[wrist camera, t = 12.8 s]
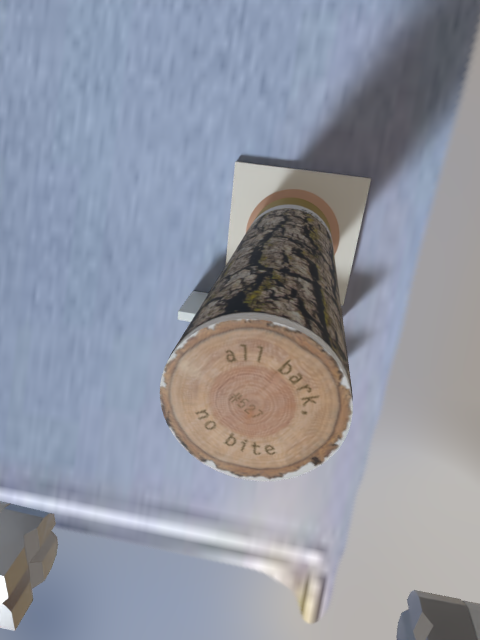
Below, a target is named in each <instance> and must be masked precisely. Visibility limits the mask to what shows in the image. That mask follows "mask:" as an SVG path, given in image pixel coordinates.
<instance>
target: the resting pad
mask: <svg viewBox="0 0 480 640" xmlns="http://www.w3.org/2000/svg"><path fill="white" fill-rule="evenodd" d="M370 182H371V178H365V177H357V176H349V175H341V174H333V173H325V172H317V171H310V170H302V169H294V168H286V167H278V166H270V165H262V164H254V163H246V162H238V161H236V162H235V171H234V181H233V192H232V203H231V214H230V224H229V235H228V246H227V256H226V265H227V263H228V261H229V260H230V258H231V257H232V255H233V253H234V252H235V250H236V249H237V247H238V245H239V244H240V242H241V240H242V239H243V237H244V236H245V234H246V232H247V231H248V229H249V228H250V227H251V224H252V223H253V222H254V220H255V219H256V217H257V215H258V214H259V213H260V211H261V210H262V209H263V208H265V207H266V206H267V205H269V204H270V203H272V202H274V201H276V200H279V199H283V198H300V199H304V200H306V201H309V202H311V203H312V204H314V205H315V206H317V207H318V208H319V209H320V210H321V211H322V212H323V214H324V215H325V217H326V218H327V220H328V222H329V225H330V229H331V236H332V241H333V243H332V244H333V249H334V257H335V264H336V272H337V280H338V287H339V295H340V303H341V305H343V304H344V300H345V295H346V291H347V286H348V282H349V277H350V272H351V268H352V263H353V259H354V254H355V250H356V245H357V241H358V236H359V232H360V227H361V223H362V218H363V214H364V209H365V205H366V200H367V196H368V191H369V187H370Z"/></svg>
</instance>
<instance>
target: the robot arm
mask: <svg viewBox="0 0 480 640" xmlns="http://www.w3.org/2000/svg"><path fill="white" fill-rule="evenodd" d="M55 524H56V523H55V517H54V514H52V513H48V512H44V511H40V510H35V509H31V508H27V507H22V506H18V505H14V504H10V503H6V502H1V501H0V628H4V629H9V630H14V631H15V630H16V628H17V626H18V625H19V623H20V621H21V620H22V618H23V616H24V615H25V613H26V611H27V610H28V608H29V606H30V605H31V603H32V601H33V593H32V589H33V588H34V587H36V586H37V585H39V584H40V583H42V582H43V581H44V580H45V579H46V577H47V575H48V574H49V572H50V570H51V568H52V565H53V563H54V560H55V557H56V554H57V547H58V542H57V537H56V535H55V534H54V533H53V532H52V531H51V530H52V529H53V527H54V526H55ZM407 601H408V606H409V609H408V610H406V611H404V612H402V613H401V616H400V619H399V622H398V628H397V640H480V604H478V603H473V602H467V601H462V600H461V599H457V598H452V597H446V596H442V595H436V594H432V593H426V592H421V591H416V590H414V591H412V592H411V593H410V595H409V597H408V599H407Z"/></svg>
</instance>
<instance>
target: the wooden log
mask: <svg viewBox="0 0 480 640" xmlns="http://www.w3.org/2000/svg"><path fill="white" fill-rule="evenodd" d="M332 243H333V241H332V236H331V229H330V225H329V222H328V220H327V218H326V217H325V215H324V214H323V212H322V211H321V210H320V209H319V208H318V207H317V206H315V205H314V204H312V203H311V202H309V201H306V200H304V199H300V198H283V199H279V200H276V201H274V202H272V203H270V204H269V205H267V206H266V207H265V208H263V209H262V210H261V211H260V213H259V214H258V215H257V217H256V219H255V220H254V222H253V223H252V224H251V227H250V228H249V229H248V231H247V232H246V234H245V236H244V237H243V239H242V240H241V242H240V244H239V245H238V247H237V249H236V250H235V252H234V253H233V255H232V257H231V258H230V260H229V261H228V263H227V265H226V266H225V268H224V269H223V271H222V273H221V274H220V276H219V278H218V279H217V281H216V282H215V284H214V286H213V287H212V289H211V290H210V292H209V294H208V295H207V297H206V298H205V300H204V302H203V303H202V305H201V307H200V308H199V310H198V311H197V313H196V315H195V316H194V318H193V319H192V321H191V323H190V324H189V326H188V327H187V329H186V331H185V332H184V334H183V336H182V337H181V339H180V340H179V342H178V344H177V345H176V347H175V348H174V350H173V352H172V353H171V355H170V358H169V360H168V362H167V364H166V366H165V368H164V371H163V374H162V378H161V384H160V401H161V407H162V411H163V414H164V417H165V420H166V422H167V424H168V426H169V428H170V430H171V432H172V433H173V435H174V436H175V438H176V439H177V440H178V441H179V443H180V444H181V445H182V446H183V447H184V448H185V449H186V450H187V451H188V452H189V453H190V454H191V455H192V456H194V457H195V458H196V459H198V460H199V461H200V462H202V463H203V464H205V465H207V466H209V467H210V468H212V469H214V470H216V471H219V472H221V473H224V474H226V475H229V476H232V477H236V478H240V479H245V480H252V481H279V480H285V479H290V478H294V477H297V476H301V475H303V474H306V473H308V472H310V471H312V470H314V469H316V468H317V467H319V466H320V465H322V464H323V463H325V462H326V461H327V460H328V459H330V458H331V457H332V456H333V455H334V454H335V453H336V451H337V450H338V449H339V447H340V446H341V445H342V443H343V441H344V440H345V438H346V436H347V433H348V431H349V428H350V424H351V420H352V411H353V404H352V387H351V380H350V372H349V364H348V357H347V349H346V341H345V334H344V326H343V318H342V311H341V303H340V295H339V287H338V280H337V272H336V264H335V257H334V249H333V244H332Z"/></svg>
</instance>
